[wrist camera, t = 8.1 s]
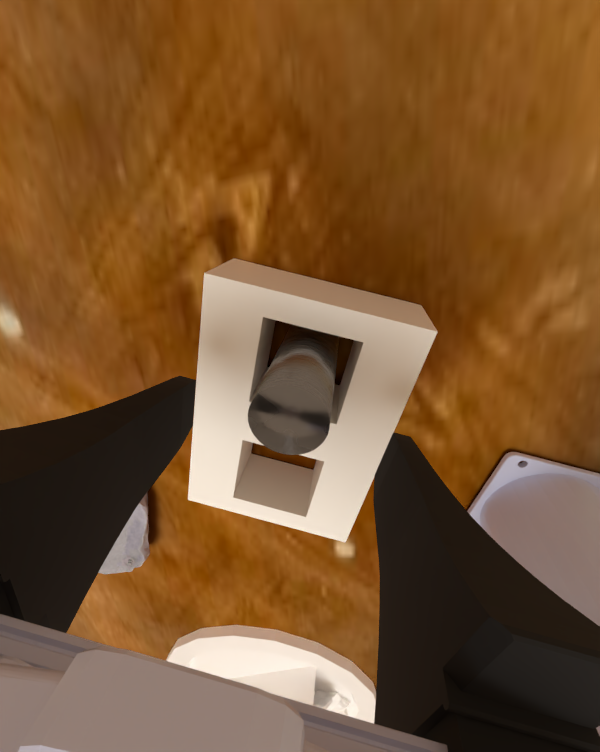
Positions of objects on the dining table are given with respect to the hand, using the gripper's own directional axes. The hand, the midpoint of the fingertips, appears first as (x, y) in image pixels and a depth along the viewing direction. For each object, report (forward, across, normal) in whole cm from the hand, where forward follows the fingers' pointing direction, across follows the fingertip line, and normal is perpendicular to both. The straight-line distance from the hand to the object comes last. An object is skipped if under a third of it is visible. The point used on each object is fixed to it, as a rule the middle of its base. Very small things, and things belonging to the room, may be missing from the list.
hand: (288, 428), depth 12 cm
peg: (+8, 0, 0) cm, 8 cm away
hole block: (+8, 0, +3) cm, 9 cm away
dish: (+9, -5, +43) cm, 45 cm away
